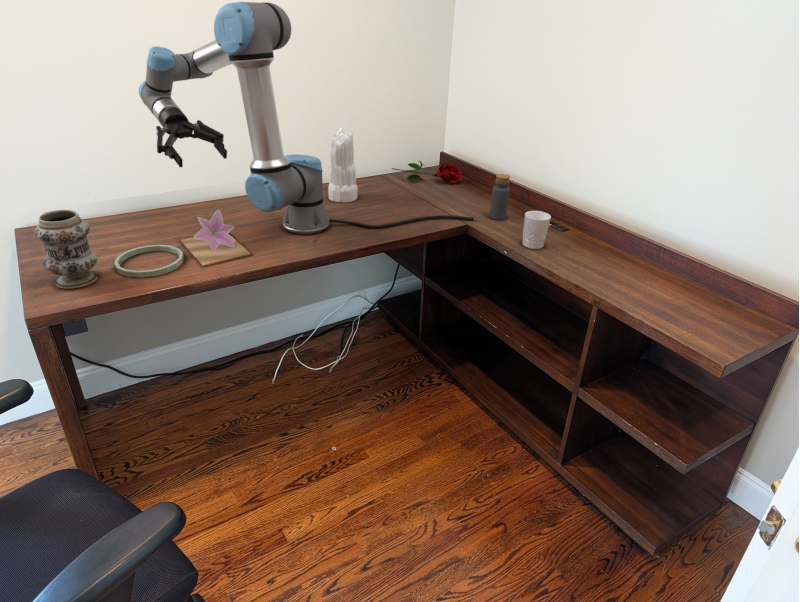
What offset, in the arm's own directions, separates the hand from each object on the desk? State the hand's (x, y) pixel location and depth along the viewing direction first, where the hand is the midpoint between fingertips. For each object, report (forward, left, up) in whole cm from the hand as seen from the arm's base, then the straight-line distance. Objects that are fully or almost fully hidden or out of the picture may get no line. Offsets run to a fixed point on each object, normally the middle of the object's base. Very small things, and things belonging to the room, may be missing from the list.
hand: (204, 159), depth 155 cm
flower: (-59, -72, -24) cm, 96 cm away
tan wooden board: (-4, +9, -24) cm, 26 cm away
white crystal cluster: (-30, -44, -24) cm, 58 cm away
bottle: (-88, -38, -24) cm, 99 cm away
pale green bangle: (+9, +22, -24) cm, 34 cm away
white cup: (-99, -16, -24) cm, 103 cm away
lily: (-5, +9, -24) cm, 26 cm away
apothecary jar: (+21, +35, -24) cm, 48 cm away
